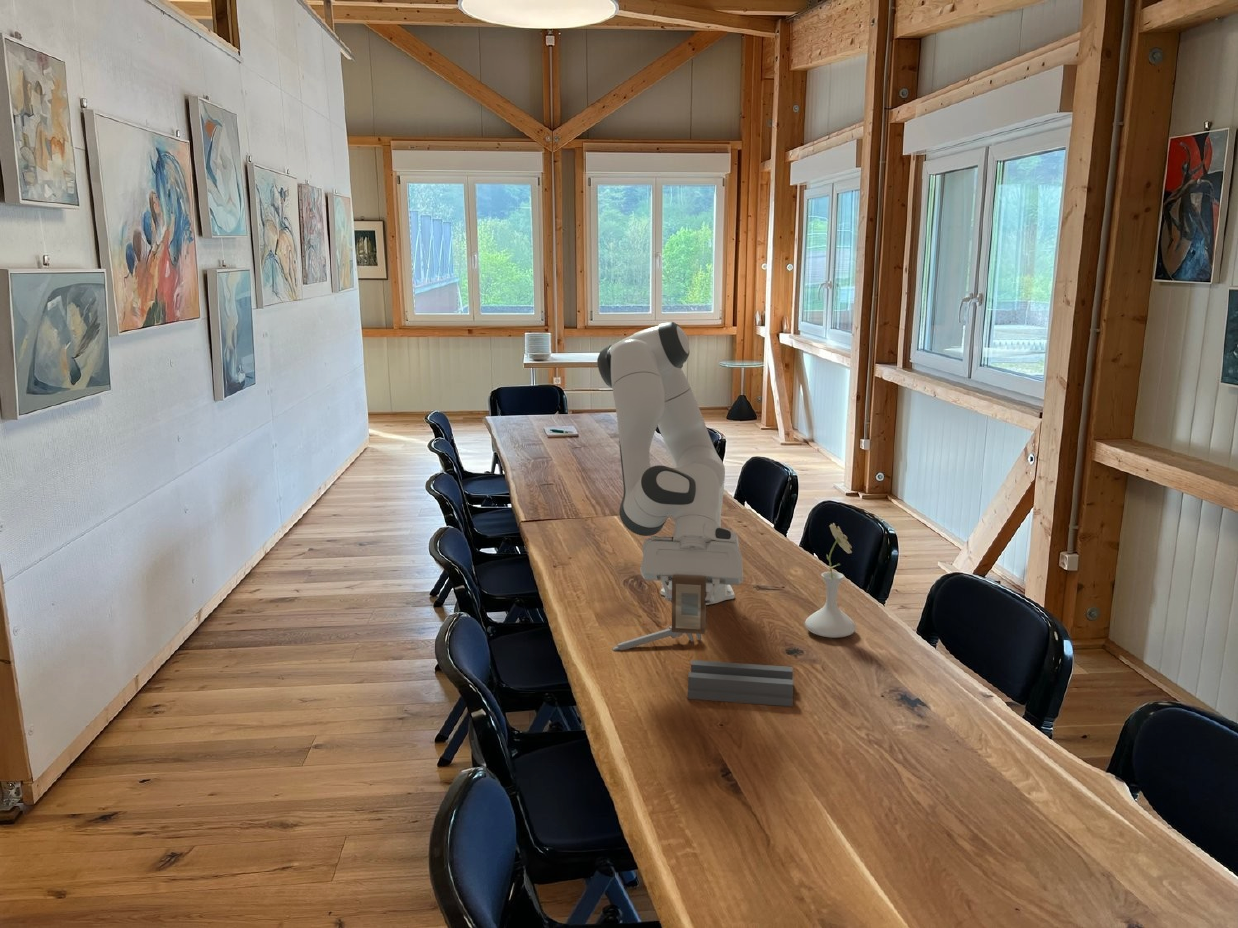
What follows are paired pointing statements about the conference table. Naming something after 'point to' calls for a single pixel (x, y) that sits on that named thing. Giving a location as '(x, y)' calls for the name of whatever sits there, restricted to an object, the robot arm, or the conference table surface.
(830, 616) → the flower in vase
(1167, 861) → the conference table surface
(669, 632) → the caliper
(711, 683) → the picture ledge
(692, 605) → the wooden picture frame
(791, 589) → the conference table surface
